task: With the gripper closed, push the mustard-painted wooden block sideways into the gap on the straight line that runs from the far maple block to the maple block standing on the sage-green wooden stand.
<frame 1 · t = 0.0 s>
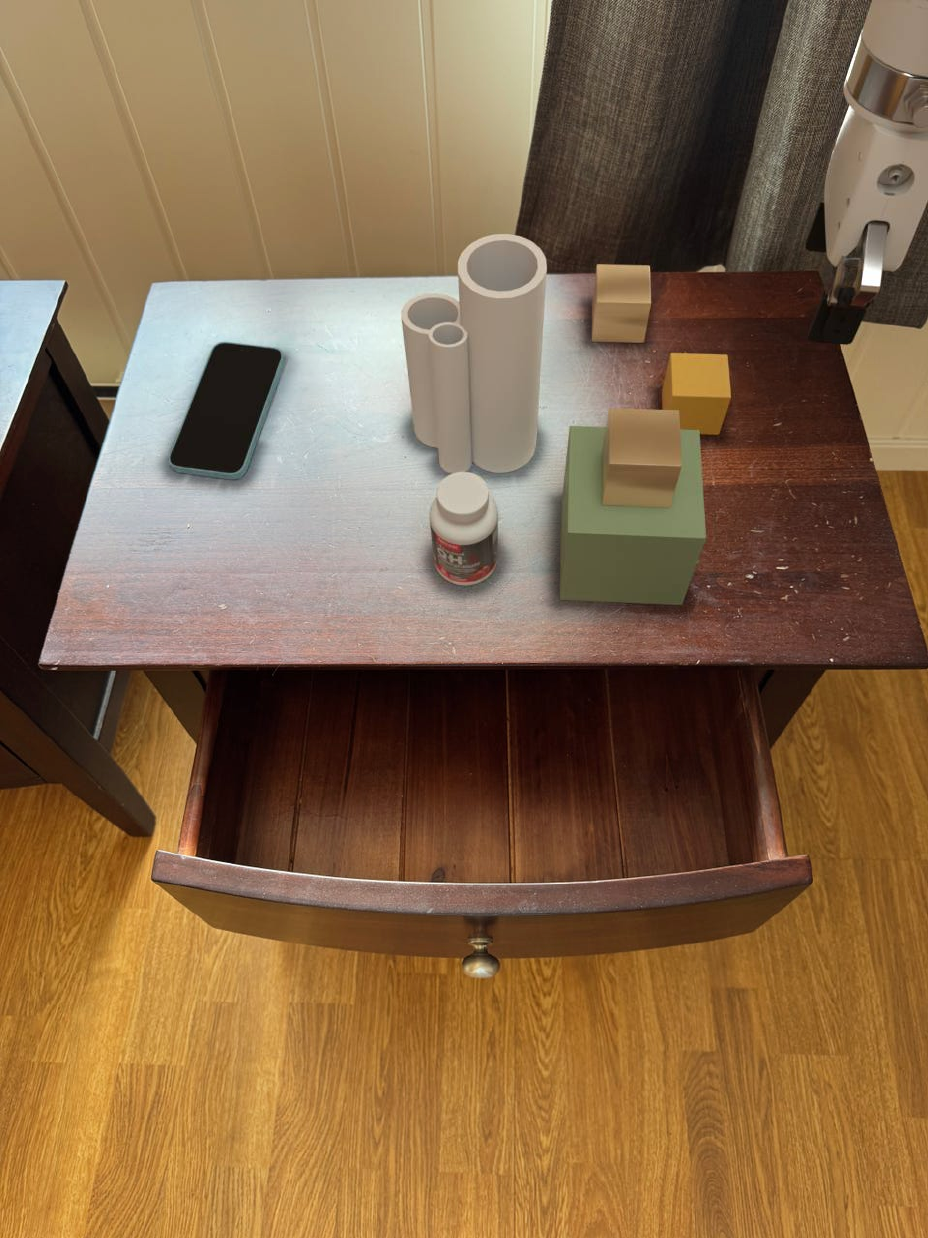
hand: (826, 293, 71), 15 cm above the nightstand, tool pointing down, fingers open, 9 cm apart
smartphone: (230, 413, 87), on the nightstand
far maple block: (617, 323, 91), on the nightstand
near maple block: (635, 479, 70), point 10 cm above the nightstand, touching stand
stand: (619, 551, 79), on the nightstand
pill bottle: (466, 561, 79), on the nightstand
vase: (473, 444, 85), on the nightstand
mustard block: (689, 412, 86), on the nightstand
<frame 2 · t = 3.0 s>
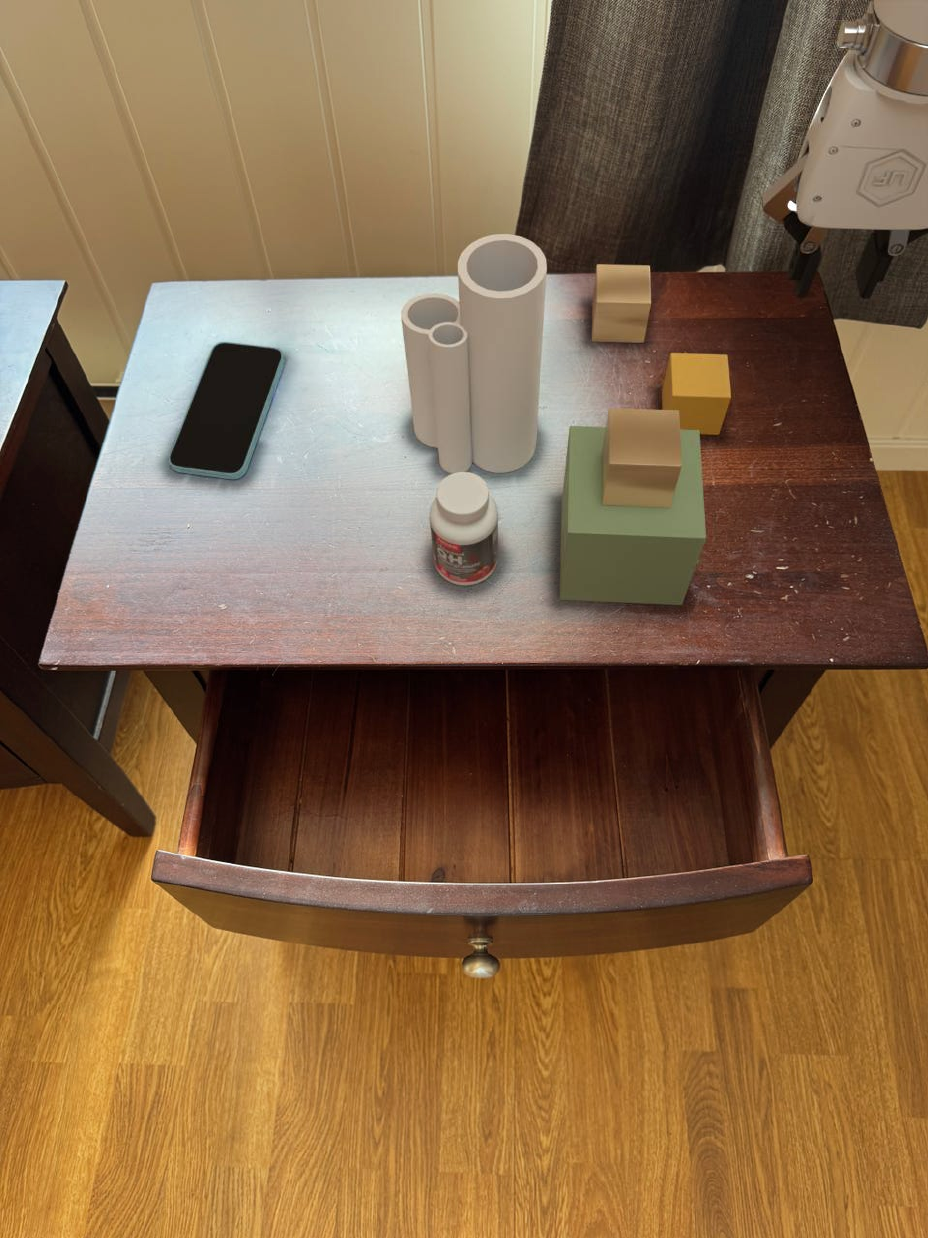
hand: (831, 283, 72), 15 cm above the nightstand, tool pointing down, fingers open, 4 cm apart
nothing on the nightstand moved.
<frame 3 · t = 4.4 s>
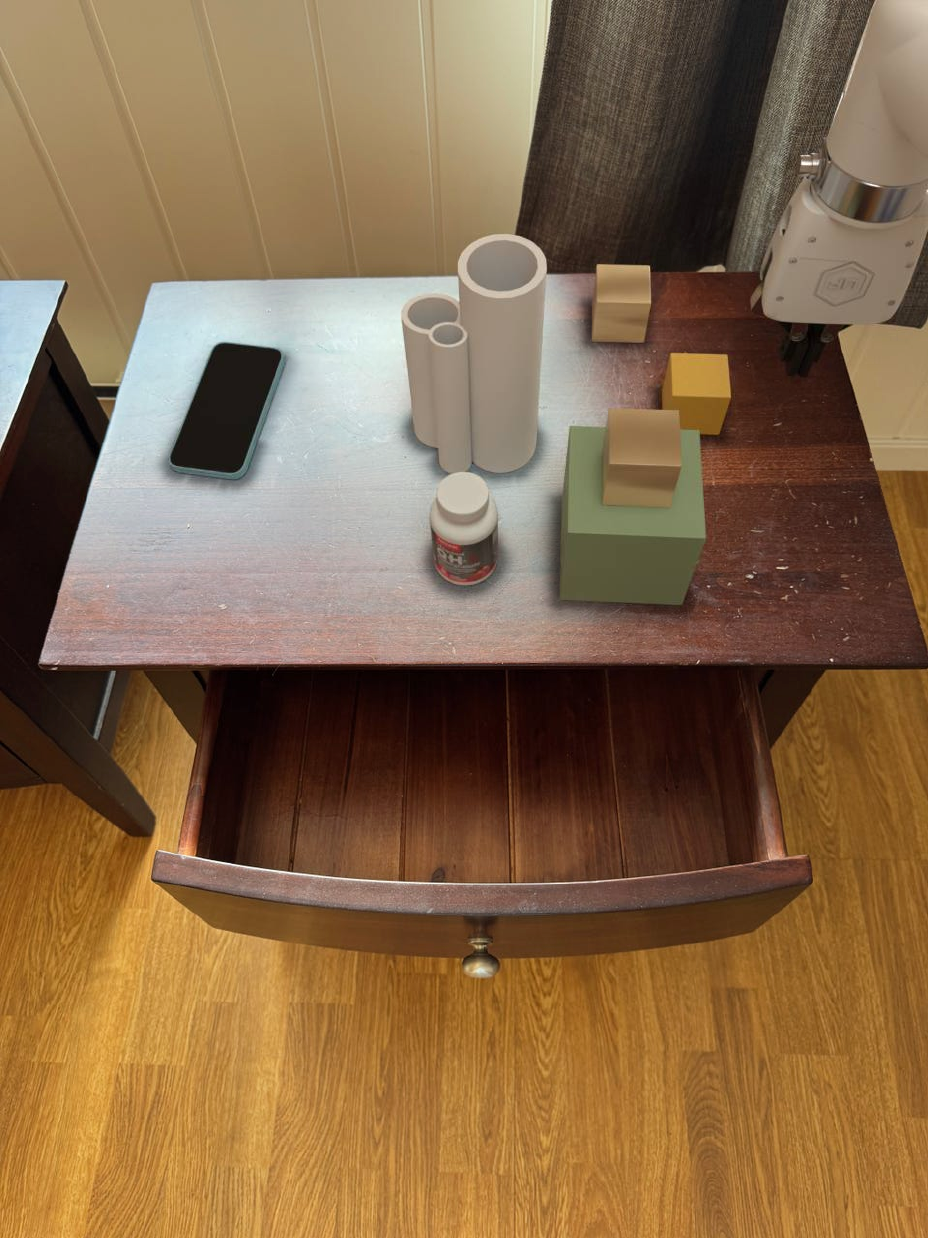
hand: (794, 363, 80), 6 cm above the nightstand, tool pointing down, fingers closed
nothing on the nightstand moved.
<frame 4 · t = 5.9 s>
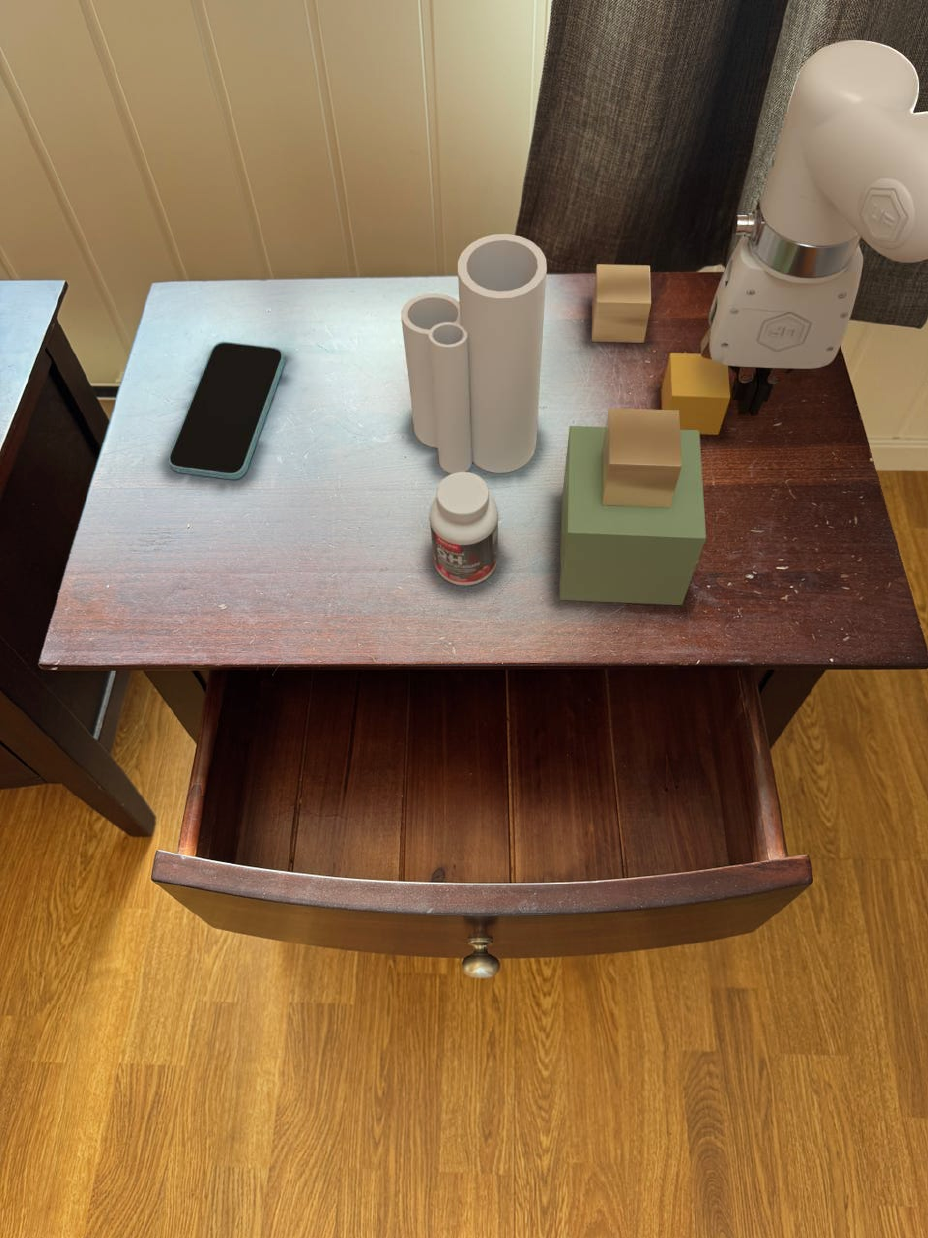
hand: (746, 402, 84), 2 cm above the nightstand, tool pointing down, fingers closed
mustard block: (689, 412, 86), on the nightstand, touching gripper
everything else where it was.
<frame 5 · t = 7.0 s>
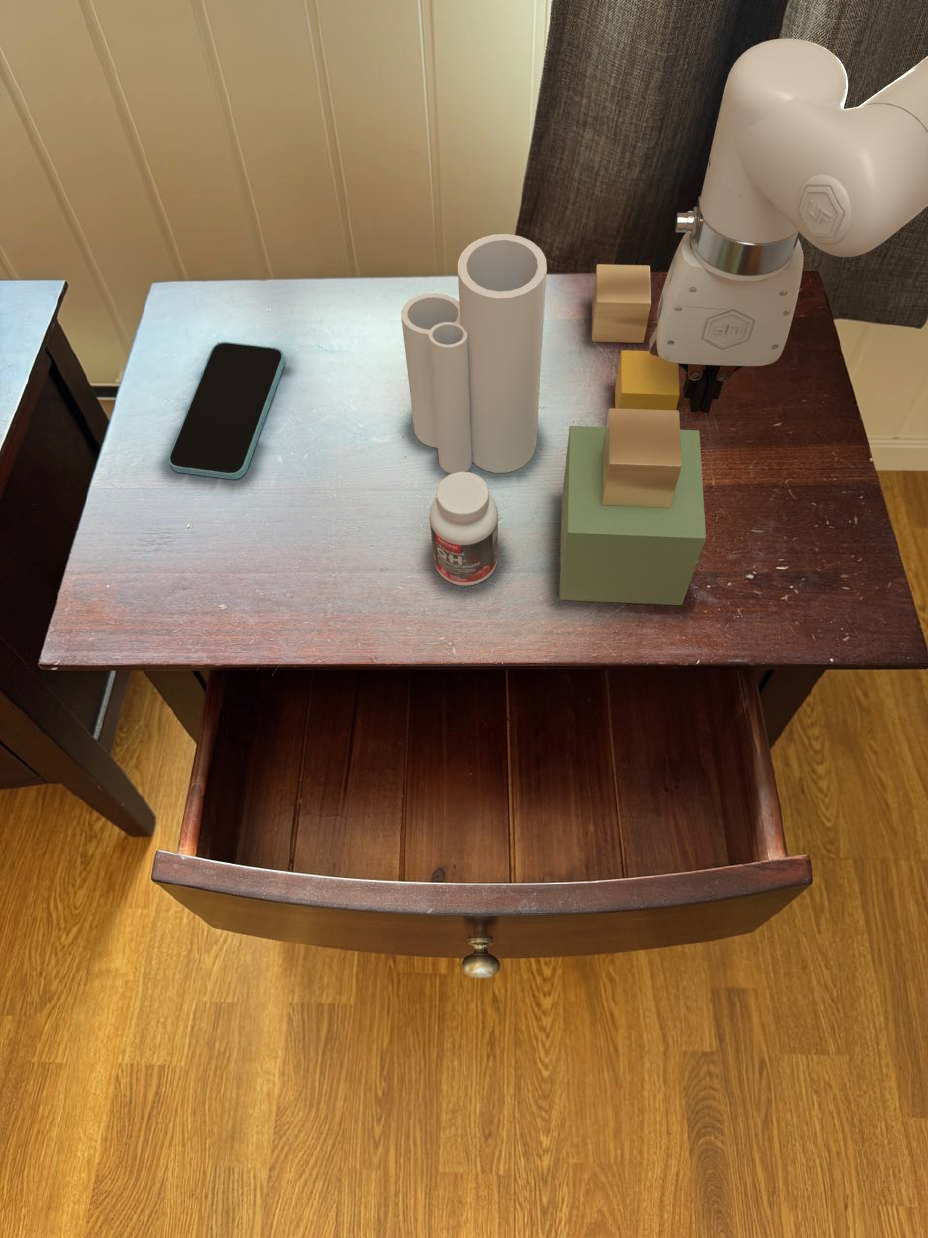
hand: (698, 400, 85), 2 cm above the nightstand, tool pointing down, fingers closed
mustard block: (642, 410, 86), on the nightstand, touching gripper
everything else where it was.
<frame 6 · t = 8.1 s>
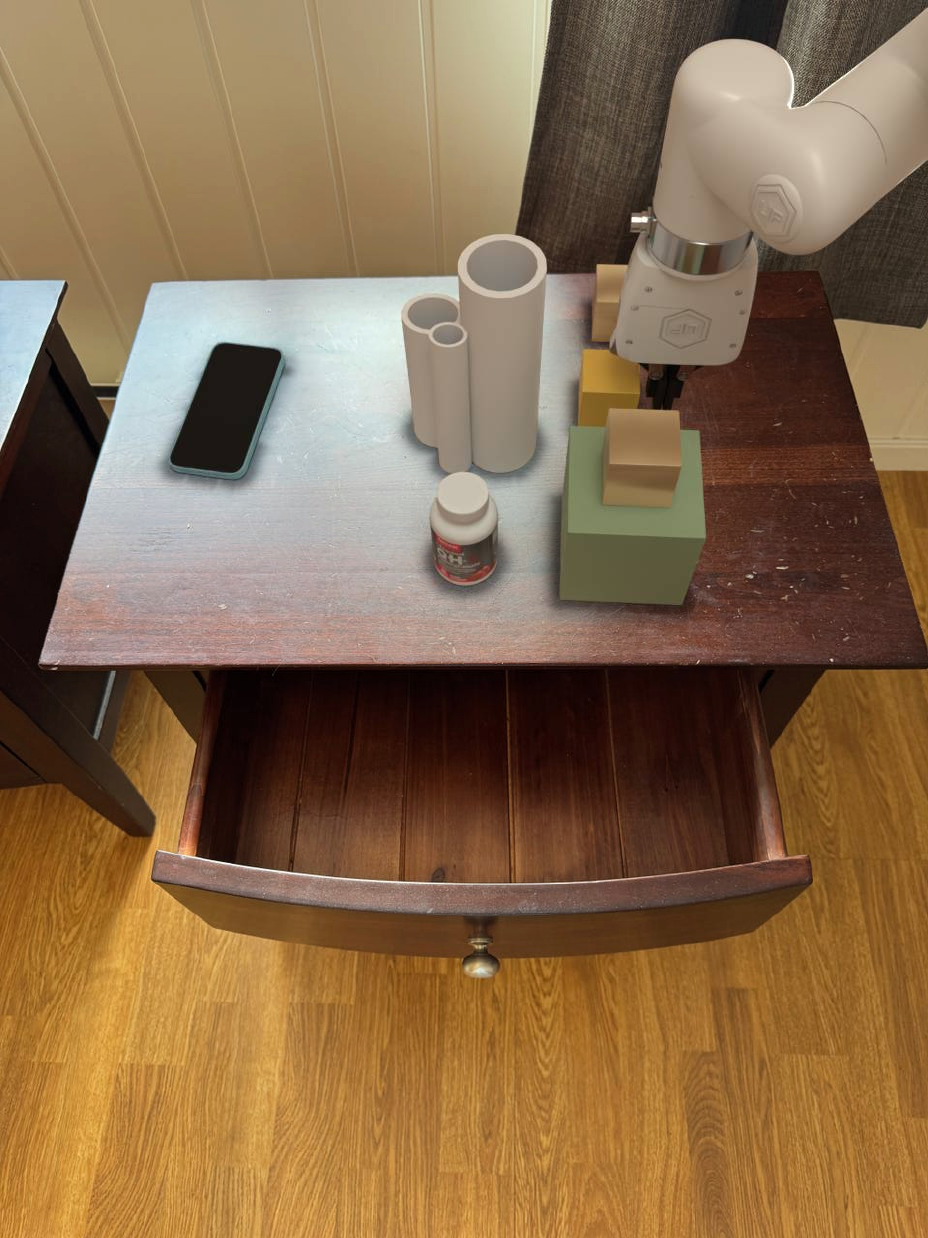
hand: (661, 399, 85), 1 cm above the nightstand, tool pointing down, fingers closed
mustard block: (605, 409, 86), on the nightstand, touching gripper
everything else where it was.
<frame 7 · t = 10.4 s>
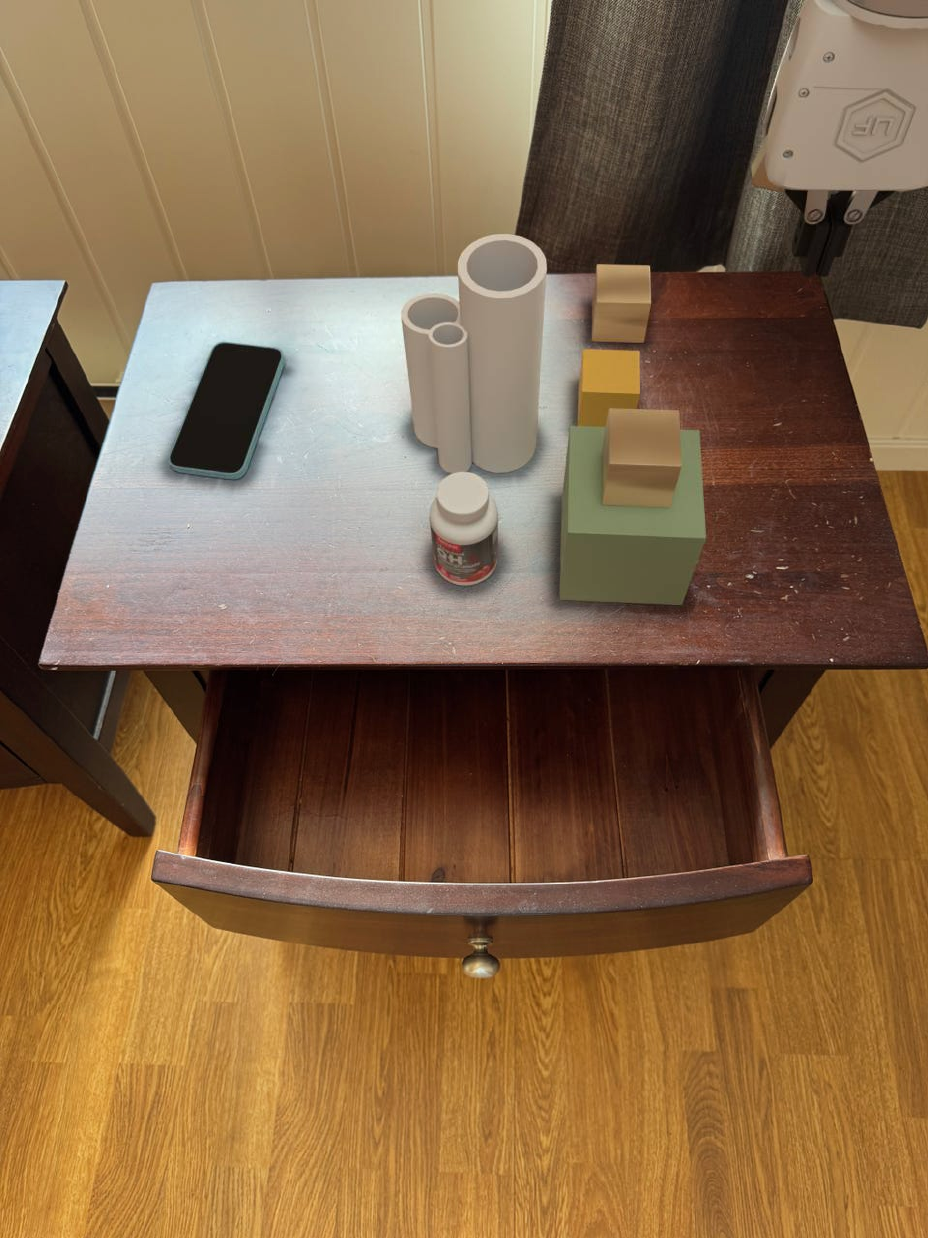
hand: (812, 261, 62), 23 cm above the nightstand, tool pointing down, fingers closed
mustard block: (605, 409, 86), on the nightstand
everything else where it was.
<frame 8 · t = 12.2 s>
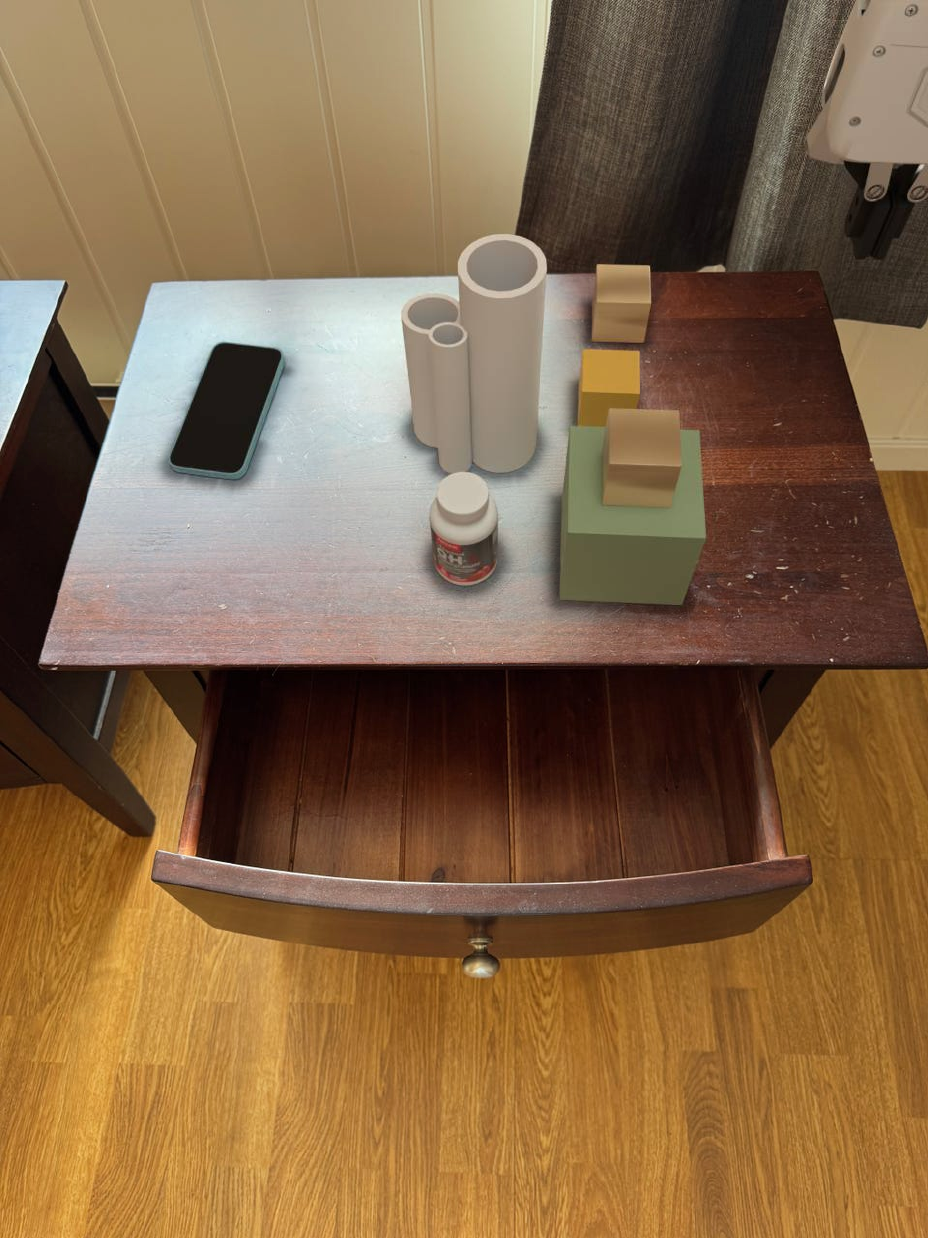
hand: (865, 243, 57), 27 cm above the nightstand, tool pointing down, fingers closed
nothing on the nightstand moved.
at the end: mustard block 1.2 cm from the target spot on the nightstand beside the far maple block, on the nightstand; far maple block moved 0.0 cm from its start; near maple block moved 0.0 cm from its start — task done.
